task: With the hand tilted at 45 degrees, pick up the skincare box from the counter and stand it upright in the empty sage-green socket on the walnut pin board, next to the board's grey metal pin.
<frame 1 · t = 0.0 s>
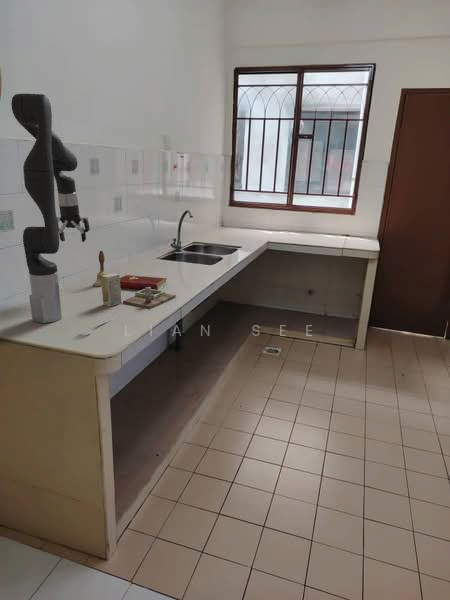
hand: (73, 241, 182), 22 cm above the worktop, tool pointing down, fingers open, 8 cm apart
hardcover book: (141, 288, 198), on the worktop
fork: (100, 327, 149), on the worktop
skincare box: (112, 304, 172), on the worktop
hand bell: (102, 284, 200), on the worktop
pin board: (150, 300, 178), on the worktop
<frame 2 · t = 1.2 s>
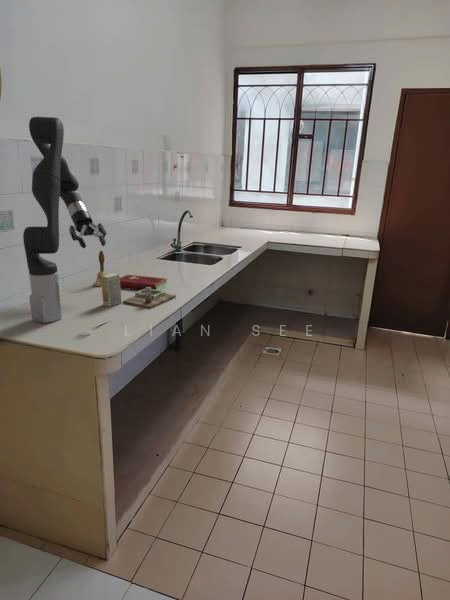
hand: (94, 246, 174), 22 cm above the worktop, tool tilted 45°, fingers open, 8 cm apart
nothing on the worktop moved.
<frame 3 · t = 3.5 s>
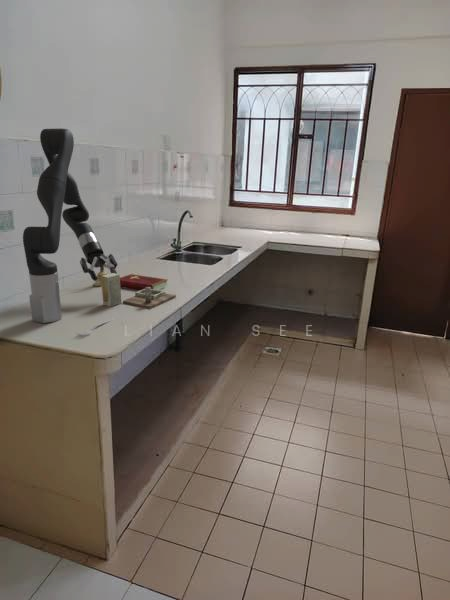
hand: (105, 278, 172), 10 cm above the worktop, tool tilted 45°, fingers open, 8 cm apart
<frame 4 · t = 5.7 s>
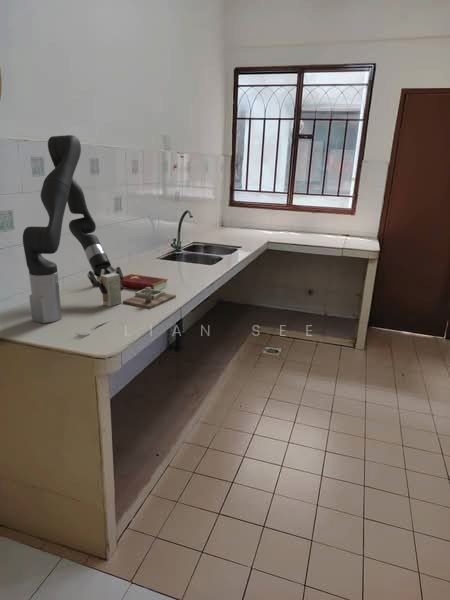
hand: (113, 291, 169), 6 cm above the worktop, tool tilted 45°, fingers closed on skincare box, 6 cm apart
skincare box: (112, 304, 172), on the worktop, touching gripper
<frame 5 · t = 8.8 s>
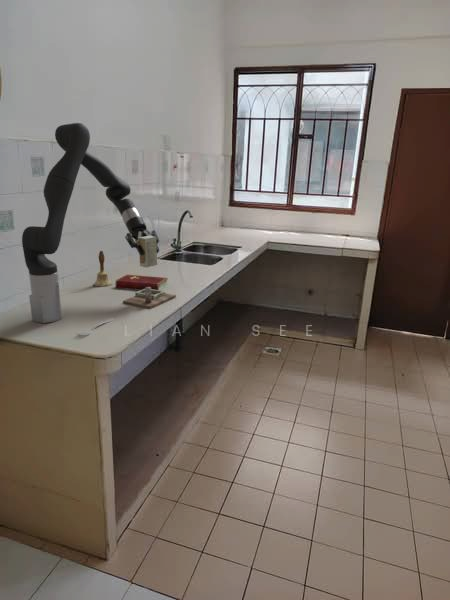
hand: (150, 253, 175), 19 cm above the worktop, tool tilted 45°, fingers closed on skincare box, 6 cm apart
skincare box: (148, 266, 178), point 14 cm above the worktop, touching gripper
when the fingers open (9 cm above the worktop, at t = 11.7 s): skincare box drops 1 cm, resting on pin board.
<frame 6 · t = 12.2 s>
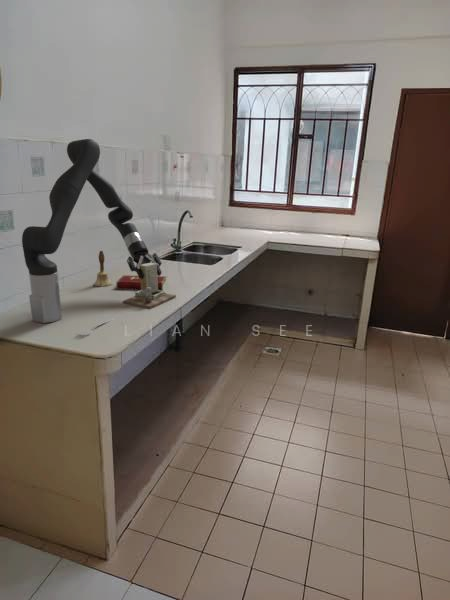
hand: (151, 276, 178), 10 cm above the worktop, tool tilted 45°, fingers open, 8 cm apart
skincare box: (149, 292, 181), point 2 cm above the worktop, touching pin board
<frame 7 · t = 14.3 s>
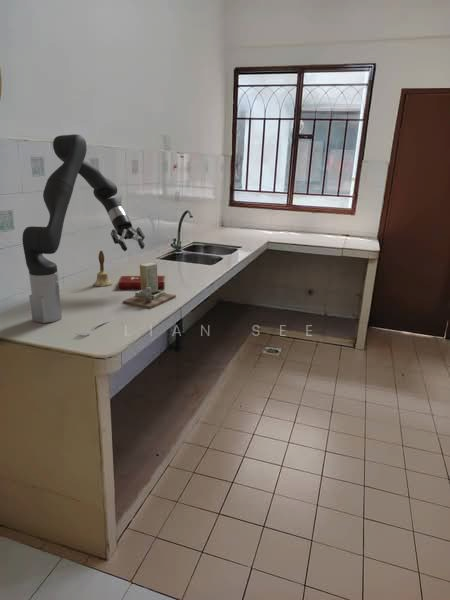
hand: (134, 248, 183), 19 cm above the worktop, tool tilted 45°, fingers open, 8 cm apart
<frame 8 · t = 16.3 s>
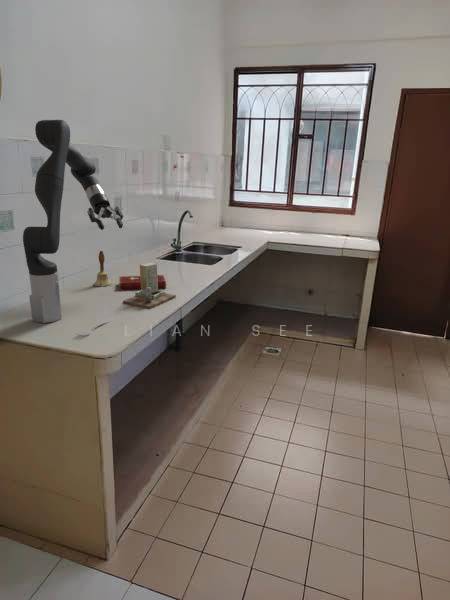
hand: (112, 228, 178), 29 cm above the worktop, tool tilted 45°, fingers open, 8 cm apart
at the end: skincare box 0.4 cm from the target spot on the pin board, point 2.3 cm above the pin board's base; skincare box tilted 0°; the gripper is holding nothing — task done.
